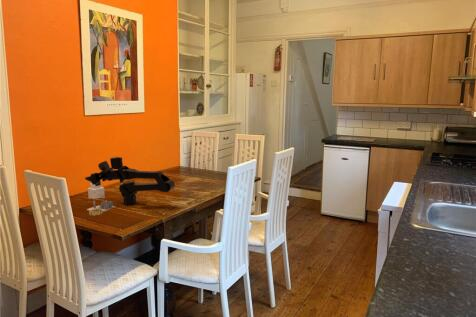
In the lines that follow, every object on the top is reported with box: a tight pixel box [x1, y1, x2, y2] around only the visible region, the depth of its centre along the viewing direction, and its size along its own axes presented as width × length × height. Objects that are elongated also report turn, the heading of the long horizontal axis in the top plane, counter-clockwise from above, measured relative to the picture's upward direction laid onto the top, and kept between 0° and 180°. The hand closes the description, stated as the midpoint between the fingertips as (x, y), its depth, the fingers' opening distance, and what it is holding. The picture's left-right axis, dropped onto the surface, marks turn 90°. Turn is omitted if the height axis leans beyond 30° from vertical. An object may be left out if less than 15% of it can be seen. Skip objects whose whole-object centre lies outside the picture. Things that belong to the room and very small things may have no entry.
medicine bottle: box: [87, 180, 106, 200], centre depth 229 cm, size 7×7×12 cm
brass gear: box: [88, 209, 103, 217], centre depth 195 cm, size 6×6×3 cm
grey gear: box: [99, 200, 114, 210], centre depth 206 cm, size 6×6×3 cm
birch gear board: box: [86, 200, 116, 213], centre depth 205 cm, size 12×10×5 cm
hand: (90, 176), depth 217 cm, fingers open, 9 cm apart
